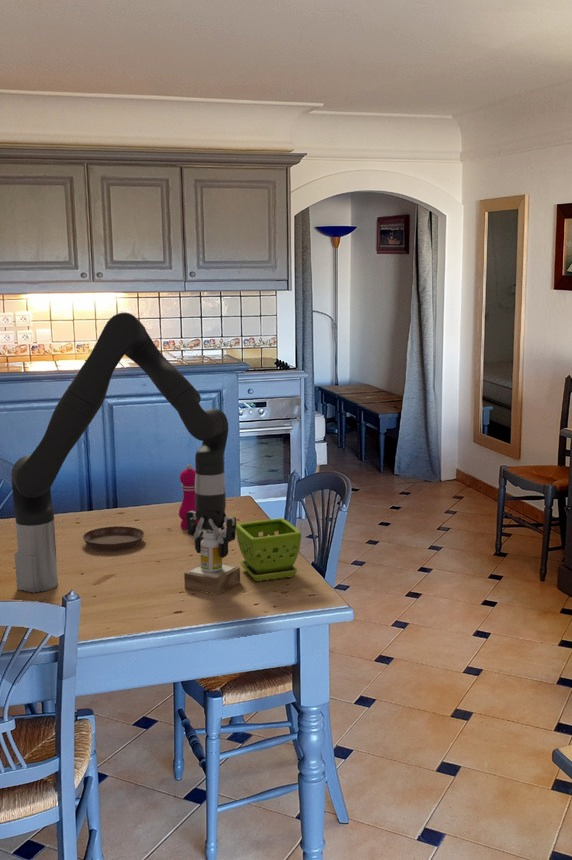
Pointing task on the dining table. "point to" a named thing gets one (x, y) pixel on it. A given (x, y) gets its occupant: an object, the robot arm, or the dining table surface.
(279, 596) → the dining table surface
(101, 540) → the plant saucer
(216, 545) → the supplement bottle
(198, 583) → the pedestal
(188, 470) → the pepper mill
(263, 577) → the flower pot
